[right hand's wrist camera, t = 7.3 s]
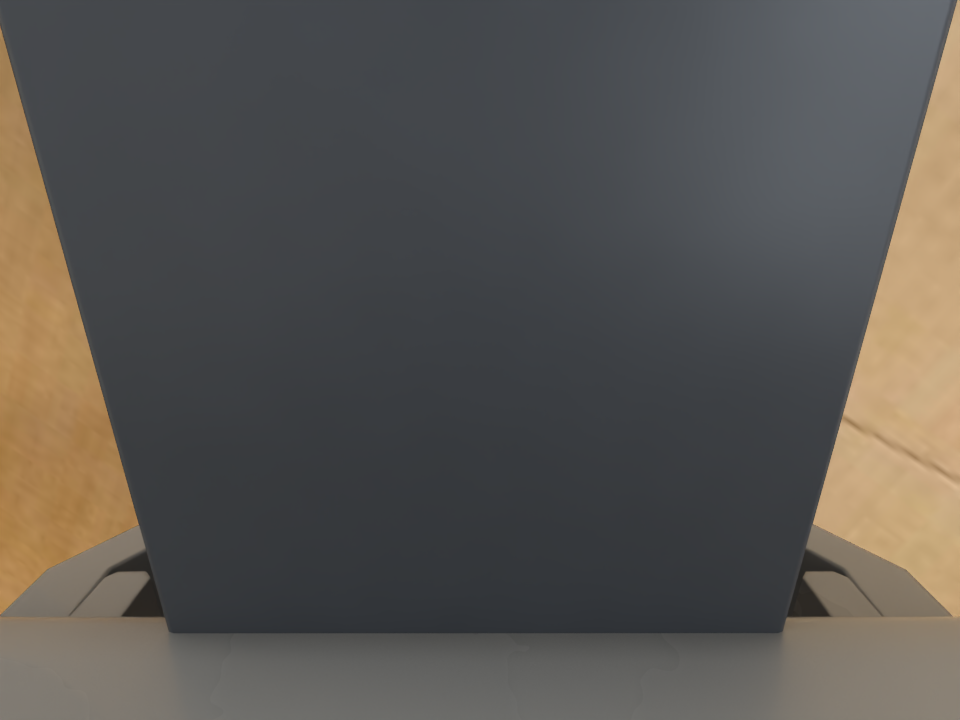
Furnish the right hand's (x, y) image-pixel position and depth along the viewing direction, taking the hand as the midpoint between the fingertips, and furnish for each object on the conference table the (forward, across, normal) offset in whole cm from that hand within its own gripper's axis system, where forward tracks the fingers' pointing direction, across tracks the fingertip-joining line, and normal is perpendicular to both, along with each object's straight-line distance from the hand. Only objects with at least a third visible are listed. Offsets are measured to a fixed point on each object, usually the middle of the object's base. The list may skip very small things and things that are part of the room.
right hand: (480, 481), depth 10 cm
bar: (+3, 0, +7) cm, 8 cm away
